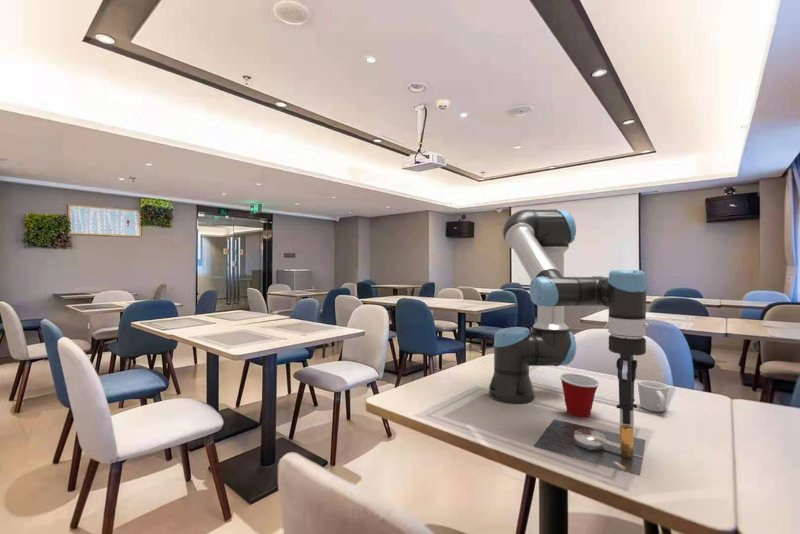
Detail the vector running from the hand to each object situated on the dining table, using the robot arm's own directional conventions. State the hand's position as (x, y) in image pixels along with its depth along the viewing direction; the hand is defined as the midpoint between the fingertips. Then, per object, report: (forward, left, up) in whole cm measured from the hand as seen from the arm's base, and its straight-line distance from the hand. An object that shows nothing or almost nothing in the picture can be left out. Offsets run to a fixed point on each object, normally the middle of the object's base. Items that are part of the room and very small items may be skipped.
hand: (626, 435), depth 90 cm
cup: (+4, +39, -6) cm, 40 cm away
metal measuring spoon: (-5, -1, -4) cm, 6 cm away
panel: (-8, 0, -5) cm, 9 cm away
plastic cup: (-14, +19, -6) cm, 24 cm away
